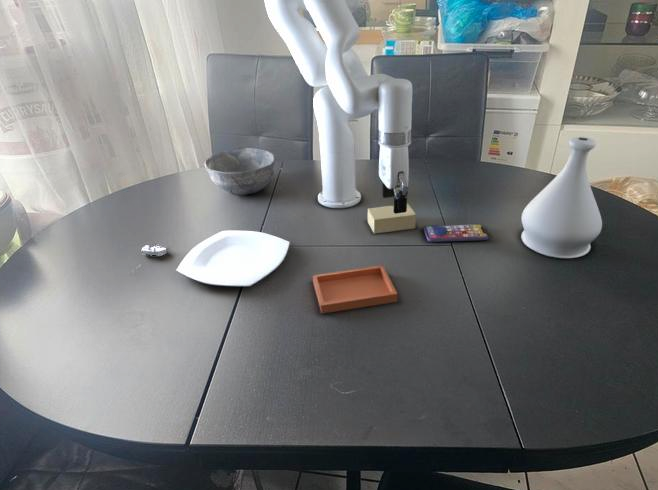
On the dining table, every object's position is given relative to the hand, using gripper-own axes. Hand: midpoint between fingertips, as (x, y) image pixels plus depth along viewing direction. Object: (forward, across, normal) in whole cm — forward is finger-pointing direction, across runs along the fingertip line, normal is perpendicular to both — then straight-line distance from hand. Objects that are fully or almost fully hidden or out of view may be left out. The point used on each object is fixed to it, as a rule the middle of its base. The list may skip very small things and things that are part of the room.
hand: (394, 204), depth 113 cm
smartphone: (+7, +8, +14) cm, 17 cm away
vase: (+7, +17, +36) cm, 40 cm away
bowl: (+5, -34, -38) cm, 51 cm away
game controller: (+6, +1, -62) cm, 62 cm away
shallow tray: (+7, +25, -16) cm, 31 cm away
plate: (+6, +7, -40) cm, 42 cm away
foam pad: (+6, -1, 0) cm, 6 cm away
